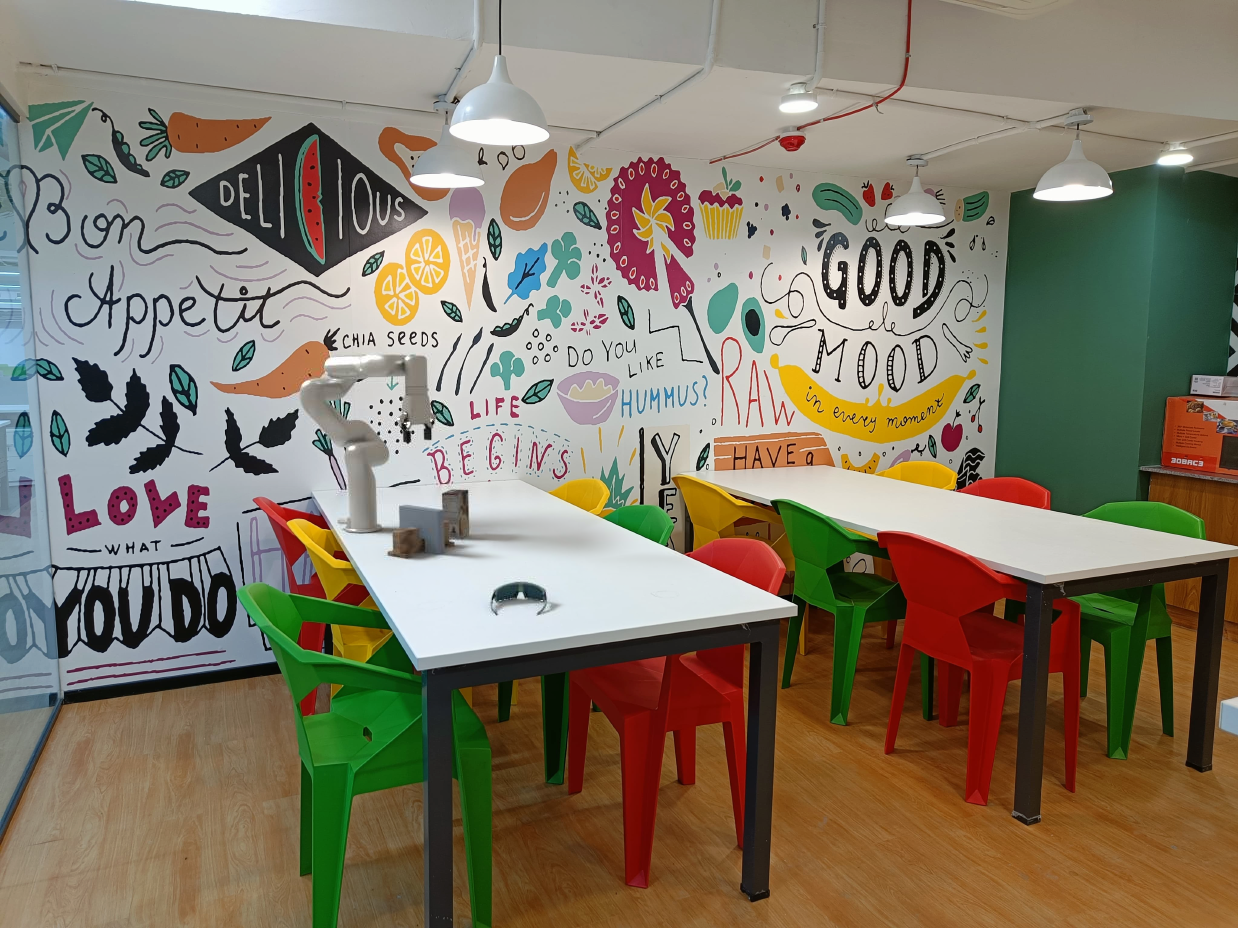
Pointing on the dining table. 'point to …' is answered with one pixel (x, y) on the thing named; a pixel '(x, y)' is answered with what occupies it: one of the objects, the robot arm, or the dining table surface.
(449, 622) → the dining table surface
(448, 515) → the coffee box
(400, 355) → the robot arm
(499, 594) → the sunglasses
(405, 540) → the slotted base board
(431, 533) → the slate grey plank
